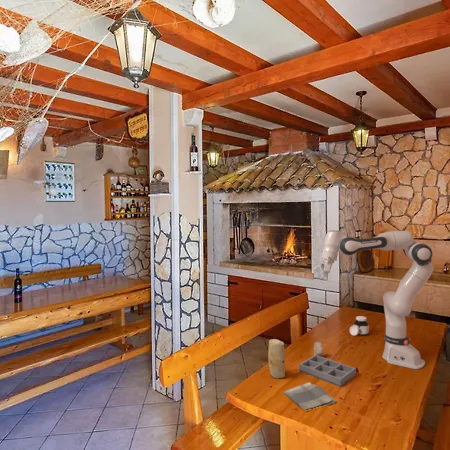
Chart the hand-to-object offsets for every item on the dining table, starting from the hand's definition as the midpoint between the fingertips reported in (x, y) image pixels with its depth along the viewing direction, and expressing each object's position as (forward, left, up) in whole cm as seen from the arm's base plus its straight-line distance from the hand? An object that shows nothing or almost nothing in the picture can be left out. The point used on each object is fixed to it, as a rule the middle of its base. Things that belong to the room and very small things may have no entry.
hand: (325, 279), depth 217 cm
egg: (+2, +5, -48) cm, 48 cm away
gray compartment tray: (-12, +19, -48) cm, 52 cm away
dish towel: (-19, +46, -48) cm, 70 cm away
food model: (+6, +41, -48) cm, 63 cm away
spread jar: (+1, -47, -48) cm, 67 cm away
